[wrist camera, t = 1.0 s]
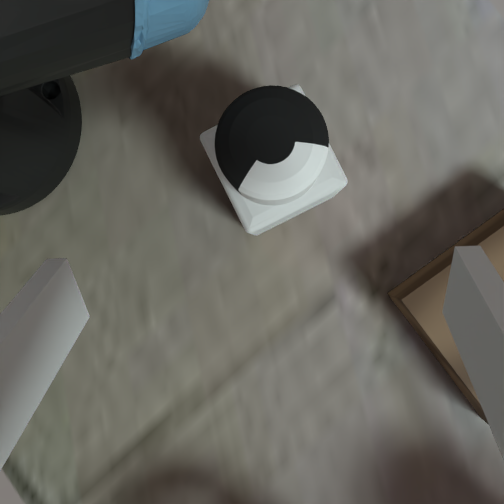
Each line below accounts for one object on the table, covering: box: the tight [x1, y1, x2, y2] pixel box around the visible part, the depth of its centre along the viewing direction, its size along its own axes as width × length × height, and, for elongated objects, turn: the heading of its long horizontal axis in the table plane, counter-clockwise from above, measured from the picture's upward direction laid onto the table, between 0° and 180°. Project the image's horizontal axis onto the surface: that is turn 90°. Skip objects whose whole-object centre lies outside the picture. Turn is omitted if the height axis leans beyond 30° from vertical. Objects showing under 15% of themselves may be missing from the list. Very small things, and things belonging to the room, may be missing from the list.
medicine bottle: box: [200, 84, 348, 235], centre depth 28 cm, size 7×7×12 cm
